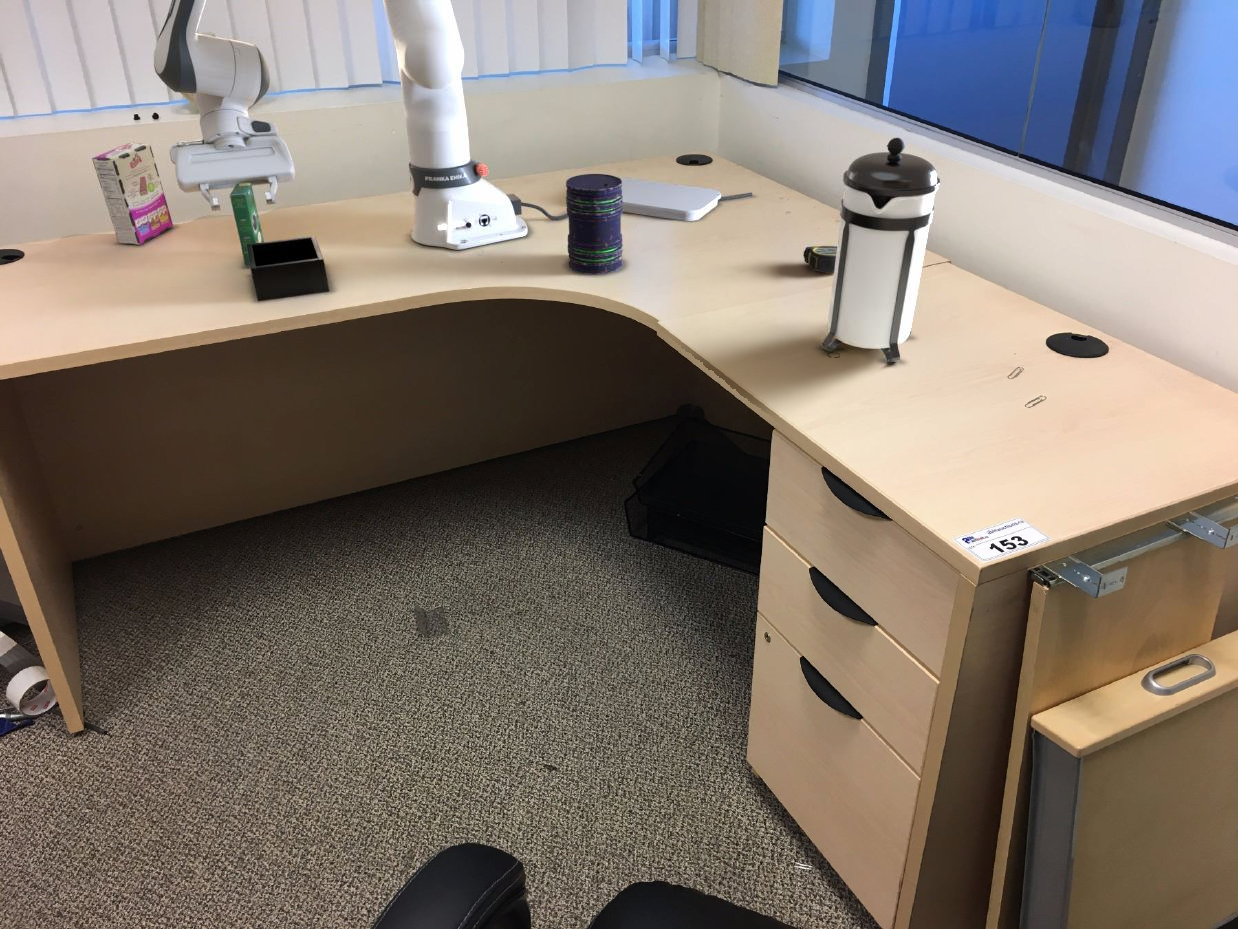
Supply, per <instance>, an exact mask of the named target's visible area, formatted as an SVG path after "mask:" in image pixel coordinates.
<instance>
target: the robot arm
mask: <svg viewBox="0 0 1238 929" xmlns="http://www.w3.org/2000/svg"><path fill="white" fill-rule="evenodd" d="M206 2H207V0H171V2H170V6H169V9H168V12H167V16H166V19H165V21H164V24H163V26H162V28H161V30H160V33H159V35H158V37H157V40H156V42H155V46H154V51H153V68H154V72H155V73H156V75H157V77H158V78H159V79H160V80H161V81H162V82H163V84H164V85H166V86H167V87H168V88H169V89H170V90H172V91H173V92H174V93H182V94H184V93H185V94H193V98H194V102H195V106H196V109H197V110H198V112H199V127H200V132H201V136H202V139H196V140H190V141H179V142H176V144H174V145H172V146H171V148H169V157H170V161H171V162H172V164H174V167H175V168H174V169H175V178H176V182H177V185H178V187H179V189H180V190H181V191H182V192H184V193H185V194H190V193H197V192H201V196H202V198H204V199H205V200H206V201H207V202H208V203H209V204H210V208H211V212H216V211H217V212H219V211H221V204H220V199H219V197H213V196H212V195H211V191H217V190H226V189H234V187H235V186H236V184H240V183H251V185H252V187H254V186H262V185H269V191H265V192H264V197H265V202H266V205H267V206H269V205H270V206H271V205H276V199H275V196H276V193H277V191H278V189H279V186H278V184H281V183H290V182H293V181H294V180H295V178H296V169H295V164H294V161H293V157H292V155H291V153H290V152H291V151H290V150H289V147H288V145H287V143H286V141H285V140H284V139H283V138H282V137H281V136H280V132H279V128H278V126H277V124H276V123H275V122H271V121H267V120H260V119H256V118H251V117H250V116H249V108H250V107H251V108H252V107H254V106H255V105H256V104H257V103H258V102H259V101H260V100H261V99H263V97H264V96H266V94H267V93H268V90H269V88H270V85H271V84H270V83H271V81H270V80H271V79H270V77H271V76H270V69H269V65H268V61H267V59H266V58H265V56H264V54H263V52H262V51H261V50H260V48H259V47H257V45H255V44H252V43H248V42H246V41H245V42H244V41H240V40H235V39H230V38H222V37H217V36H213V35H208V34H207V35H206V34H202V33H198V32H197V31H198V27H199V25H200V21H201V18H202V14H203V11H204V8H205V6H206ZM382 4H383V6H384V7H383V8H384V10H385V15H386V17H387V21H388V25H389V28H390V32H391V36H392V39H393V42H394V46H395V50H396V58H397V64H398V73H399V81H400V87H401V95H402V103H403V112H404V118H405V126H406V127H405V128H406V132H407V133H406V134H407V135H406V136H407V142H408V150H409V159H410V161H409V162H408V169H409V170H408V176H409V184H410V189H411V193H412V194H413V217H412V228H411V233H410V238H411V239H412V240H413V241H414V242H416V243H418V244H421V245H425V246H429V247H440V248H446V249H450V250H455V251H458V250H459V251H460V250H464V249H469V248H470V249H471V248H474V247H479V246H484V245H488V244H494V243H499V242H504V241H509V240H514V239H518V238H523V237H526V235H528V232H529V230H528V225H527V223H526V222H525V220H524V219H523V218H522V217H520V216H521V215H523V213H522V212H523V211H522V207H525V208H526V207H527V208H531V209H535V210H538V211H539V212H541V213H542V214H543V215H544V216H545V217H547V218H548V219H549V220H553V221H559V220H564V219H567V218H569V216H568V215H567V213H566V214H562V215H551V214H550V213H549V212H548V211H547V210H546V209H544V208H543V207H541V206H539V205H536V204H532V203H529V202H522V200H521V198H520V197H519V196H517V195H516V194H514V193H508V194H505V192H504V191H502V190H501V189H499V188H498V187H497V186H496V185H493V184H492V183H490V182H489V181H487V180H486V179H484V178H483V177H486V176H488V174H489V167H487V165H485V164H484V163H481V162H480V161H478V160H476V159H475V158H473V157H471V152H470V140H469V128H468V118H467V111H466V103H465V95H464V90H463V80H462V74H461V73H462V70H463V67H464V62H465V52H464V51H465V50H464V47H463V43H462V40H461V39H462V38H461V36H460V31H459V27H458V24H457V21H456V17H455V13H454V9H453V6H452V2H451V0H382ZM748 197H753V192H745V193H740V194H734V195H727V196H721V198H720V199H718V201H717V202H721V201H728V200H729V201H730V200H735V199H742V198H748ZM519 215H520V216H519Z"/></svg>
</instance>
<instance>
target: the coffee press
mask: <svg viewBox="0 0 1238 929" xmlns="http://www.w3.org/2000/svg"><path fill="white" fill-rule="evenodd" d="M886 148H887V151H881V152H880V151H879V152H873V153H867V154H864V155H861V156H859V157H857V158H856V159H854V160H853V161H852V162H851V163H850V165H849V166H848V168H847V170H846V171H845V172H844V173H843V176H842V182H843V185H844V190H843V191H844V192H843V198H842V199H841V202H840V208H839V209H840V210H839V216H840V223H839V231H838V239H837V254H836V261H835V269H834V273H833V277H832V278H833V279H832V287H831V295H830V302H829V312H828V320H827V328H828V330H829V331H828V333H827V335H826V337H825V338H824V339H823V340H822V342H821V348H822V349H824V350H825V351H826V352H828V353H832V352H834V350H836V348H837V347H838V346H840V344H842V343H844V344H847V345H850V346H852V347H856V348H860V349H869V350H870V349H871V350H872V349H873V350H879V349H880V350H881V351H882V352H883V354H884V356H885V357H884V358H885V360H886V361H887V363H889V364H890V363H896V362H899V361H900V360H901V354H900V348H899V345H901V344H902V343H904V342H905V341H906V340H907V339H908V338H909V337H910V336H911V334H912V330H911V328H912V323H913V318H914V312H915V307H916V302H917V297H918V291H919V286H920V278H921V274H922V269H923V263H924V258H925V257H924V256H925V251H926V246H927V240H928V234H929V229H930V225H931V224H932V222H933V218H934V217H933V216H934V210H935V207H934V201H935V195H936V193H937V191H938V189H939V188H940V184H941V179H940V177H939V176H938V173H937V169H936V168H935V166H934V165H933V164H932V163H931V162H930V161H929V160H926V159H925V158H923V157H920V156H917V155H914V154H910V153H903V151H904V150H905V149H906V145H905V142H904V140H903V139H902V138H900V137H893V138H891V139H890V140H889V141H888V143H887V145H886ZM834 338H835V339H834Z"/></svg>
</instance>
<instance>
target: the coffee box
mask: <svg viewBox="0 0 1238 929" xmlns="http://www.w3.org/2000/svg"><path fill="white" fill-rule="evenodd" d="M229 199H230V203H231V207H232V212H233V216H234V220H235V225H236V231H237V234H238V238H239V242H240V247H241V248H240V249H241V252H242V256H243V262H244V266H245V267H246V268H250V263H249V257H248V252H247V246H246V244H253V243H261V242H265V240H264V235H263V232H262V231H263V230H262V226H261V222H260V217H259V212H258V208H257V203H256V199H255V195H254V191H253V186H252V185H251V183H240V184H236V186H235V187H234V188H232V191H231V193H229Z"/></svg>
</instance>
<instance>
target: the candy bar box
mask: <svg viewBox="0 0 1238 929" xmlns="http://www.w3.org/2000/svg"><path fill="white" fill-rule="evenodd" d="M151 145H152V144H151V143H142V142H128V143H126V144H123V145H121V146H118V147H116V148H113V149H111V150H108V151H106V152H103V153H101V154H99V155H96V156H94V157H92V158H91V160H92V163H93V166H94V169H95V170H94V171H95V173H96V176H97V180H98V182H99V185H100V189H101V192H102V195H103V197H104V201H105V204H106V207H107V210H108V213H109V216H110V219H111V223H112V226H113V230H114V232H115V235H116V238H117V242H118V244H121V245H131V246H133V245H136V246H140V245H143V244H145V243H146V242H148V241H151V240H152V239H154V238H155V237H156V238H157V236H159V235H161V234H163V233H164V232H166V231H168V230H171V229H172V228H173V227H174V223H173V221H172V220H173V219H172V216H171V213H170V209H169V206H168V203H167V199H166V196H165V192H164V189H163V186H162V185H163V184H162V181H161V178H160V174H159V171H158V167H157V164H156V163H157V162H156V159H155V156H154V153H153V150H152V146H151Z"/></svg>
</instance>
